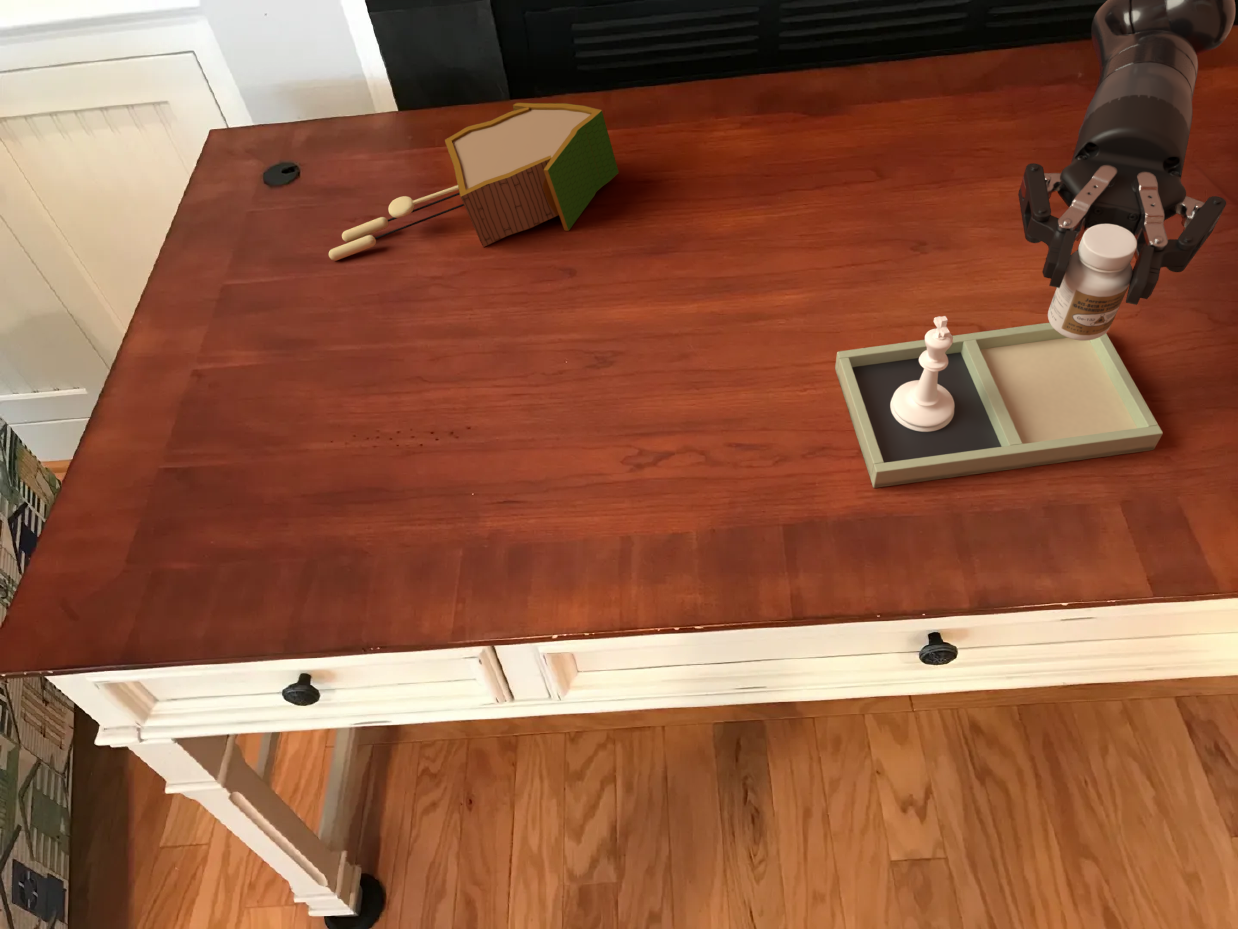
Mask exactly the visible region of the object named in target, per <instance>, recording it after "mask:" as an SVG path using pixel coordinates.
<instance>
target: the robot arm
mask: <svg viewBox="0 0 1238 929" xmlns="http://www.w3.org/2000/svg"><path fill="white" fill-rule="evenodd" d="M1235 19H1236V2H1235V0H1106V1H1105V2H1104V3H1103V4H1102V5H1101V6H1100V7H1099V8H1098V9H1097V11H1096V13H1095V14H1094V17H1093V18H1092V22H1091V29H1090V30H1091V31H1090V32H1091V40H1092V45H1093V50H1094V52H1095V56H1096V59H1097V61H1098V66H1099V77H1098V81H1097V84H1096V87H1095V90H1094V94H1093V97H1092V98H1091V100H1090V102H1089V104H1088V106H1087V108H1086V111H1085V114H1084V117H1083V119H1082V120H1083V121H1082V124H1081V125H1080V126H1079V127H1080V128H1079V130H1078V135H1077V141H1076V145H1075V148H1074V150H1073V155H1072V158H1071V162H1070V164H1068V165H1067V166H1065V167H1064V168H1063V169H1062V171H1061V172H1045V171H1044V170H1045V169H1044V166H1042V165H1041V164H1039V163H1035V162H1034V163H1029V164H1027V165H1026V166H1025V170H1024V173H1023V176H1022V179H1021V184H1020V186H1019V191H1018V194H1017V195H1018V201H1019V208H1020V214H1021V220H1022V227H1023V233H1024V238H1025V240H1026V241H1027V242H1029V243H1031V244H1038V243H1041V242H1042V243H1044V244H1045V245H1046V246H1047V247H1048V250H1047V254H1046V257H1045V260H1044V265H1043V267H1042V271H1041V272H1042V275H1043V278H1046V279H1050V281H1049V287H1053V288H1060V286H1061V283H1062V281H1063V278H1064V275H1065V272H1066V270H1067V266H1068V263H1069V259H1070V256H1071V254H1072V253H1073V252H1072V251H1073V248H1074V244H1075V242H1079V241H1080V239H1082V237H1083V234H1084V233H1085V231H1086V230H1087V229H1089V228H1090V227H1092V226H1095V225H1099V224H1113V225H1118V226H1121V227H1123V228H1125V229H1127V230H1128V231H1130V232H1131V233H1132V234H1133V235H1134V236H1135V238H1136V241H1137V247H1136V250H1135V253H1134V255H1133V257H1134V259H1135V264H1134V266H1133V267H1132V270H1133V274H1132V278H1131V281H1130V284H1129V287H1128V289H1127V294H1126V297H1125V298H1126V299H1125V303H1126V304H1131V305H1134V306H1137V305H1138V303H1139V302H1140V301H1141V300H1140V299H1143V300H1148V299H1149V298H1150V297H1151V296H1152V294H1153V292H1154V290H1155V288H1156V286H1157V283H1158V282H1159V278H1160V273H1161V268H1166V269H1167V270H1168V271H1170V272H1173V273H1181V272H1183V271H1184V270H1185V269H1186V268H1187V267H1188V265H1189V264H1190V262H1191V261H1192V260H1193V258H1195V256H1196V254H1197V253H1198V252H1199V250H1200V249H1201V247H1202V246H1203V245H1204V244H1205V242H1207V240H1208V238H1209V237H1210V235H1211V234H1212V233H1213V231H1214V229H1215V227H1216V225H1217V223H1218V221H1219V220H1220V218H1221V216H1222V214H1223V212H1224V209H1225V208H1226V206H1227V200H1226V199H1225V198H1223V197H1221V196H1218V195H1213V196H1209V197H1208V198H1206V200H1205V202H1204V201H1202V200H1198V199H1196V198H1193V197H1190V196H1187V190H1186V187H1185V186H1184V184H1183V183H1182V176H1183V171H1184V165H1185V159H1186V154H1187V149H1188V144H1189V139H1190V134H1191V130H1192V129H1191V128H1192V123H1193V112H1194V111H1193V99H1194V95H1195V94H1194V93H1195V88H1196V82H1197V78H1198V71H1199V61H1198V56H1199V55H1202V54H1205V53H1208V52H1210V51H1213V50H1215V49H1217V48H1218V47H1219V46H1220V45H1222V44H1223V43H1224V41H1225V40H1227V37H1228V36H1229V34H1230V32H1231V30H1232V28H1233V25H1234V22H1235ZM1055 192H1057V194H1058V195H1059V197H1060V198H1061V200H1062V201H1063V202H1064V203H1065V205H1066V206H1067V209H1066V211H1065V212H1064V213H1063V214H1062V215H1061V216H1060V217H1057V216H1054V215H1052V208H1051V203H1050V199H1051V197H1052V194H1053V193H1055ZM1177 214H1178V215H1179V216H1180V217H1181V221H1180V224H1181V226H1182V227H1183V229H1182V232H1181V233H1180V234H1179V236H1178V237H1177V238H1173V239H1172V238H1170V239H1168V235H1167V231H1166V229H1165V224H1164V222H1165V221H1167V220H1169V219H1170V218H1172V217H1174V216H1176V215H1177Z"/></svg>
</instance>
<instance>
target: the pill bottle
mask: <svg viewBox="0 0 1238 929" xmlns="http://www.w3.org/2000/svg"><path fill="white" fill-rule="evenodd" d="M1080 239H1081V240H1080V242H1079V244H1078V246H1077V250H1075V251H1073V252H1071V256H1070V259H1069V263H1068V266H1067V270H1066V272H1065V275H1064V278H1063V281H1062V283H1061V286H1060V288H1057V287H1055V291H1054V294H1053V296H1052V300H1051V301H1050V305H1049V308H1048V311H1047V319H1048V323H1049V322H1050V324H1051V326H1052V327H1053V328H1054V329H1055V330H1056V331H1057V332H1059V333H1060V334H1062V335H1063V336H1065V337H1068V338H1071V339H1075V340H1081V341H1084V340H1093V339H1096V338H1099V337H1101V336H1103V335H1104V334H1105V333H1106V334H1107V333H1108V331H1109V330H1110V328H1111V326H1112V324H1113V321H1115V318H1116V315H1117V313H1118V311H1119V308H1120V306H1121V305H1122V302H1123V300H1124V297H1125V295H1126V293H1127V292H1128V289H1129V284H1130V281H1131V278H1132V274H1133V267H1132V265H1131V263H1132V260H1133V258H1134V253H1135V250H1136V247H1137V241H1136V238H1135V236H1134V235H1133V234H1132V233H1131V232H1130V231H1128V230H1127V229H1125V228H1123V227H1121V226H1118V225H1113V224H1099V225H1095V226H1092V227H1090V228H1089V229H1087V230H1086V231H1085V233H1084V234H1083V236H1082V237H1081V238H1080Z"/></svg>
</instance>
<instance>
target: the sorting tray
mask: <svg viewBox="0 0 1238 929" xmlns="http://www.w3.org/2000/svg"><path fill="white" fill-rule="evenodd" d="M952 337H953V343H952V345H951V346H950V348H949V349H948V350H947V351H946V352H945V354H946V355H947V357H948V365H947V367H946V368H945V369H943V370H941V371H938V380H937V384H939V385H941V386H942V387H944V388H945V389H946V390H947V391H948V392H949V393H950V394H951V396H952V398H953V400H954V415H953V418H952V420H951V421H950V422H949V424H947V425H946V426H945V427H943V428H941V429H939V430H936V431H931V432H920V431H915V430H912V429H909V428H907V427H905V426H903V425H902V424H900V423H899V422H898V421H897V420H896V419H895V418H894V416H893V414H892V412H891V408H890V403H891V399H892V397H893V395H894V393H895V391H896V390H897V389H898V388H899V387H900V386H901V385H903V384H905V383H907V382H910V381H915V380H920V378H921V375H922V373H923V371H924V368H923V367H922V366H921V365H920V363H919V357H920V355H921V354H922V353H923V352H924V351H926V350H927V347H926V344H925V339H919V340H911V341H906V342H905V341H904V342H898V343H890V344H883V345H875V346H869V347H861V348H854V349H847V350H840V351H837V352H836V358H835V365H834V370H835V373H836V376H837V380H838V382H839V385H840V389H841V391H842V395H843V397H844V401H845V404H846V407H847V410H848V414H849V417H850V421H851V423H852V427H853V429H854V433H855V435H856V438H857V442H858V444H859V447H860V448H859V449H860V450H861V454H862V457H863V460H864V463H865V466H866V470H867V472H868V475H869V479H870V481H871V485H872V488H874V489H876V488H883V487H890V486H891V487H892V486H898V485H906V484H913V483H914V484H915V483H921V482H928V481H935V480H943V479H951V478H958V477H965V476H973V475H980V474H987V473H994V472H1001V471H1008V470H1009V471H1010V470H1017V469H1022V468H1023V469H1025V468H1031V467H1038V466H1039V467H1040V466H1044V465H1045V466H1046V465H1053V464H1060V463H1068V462H1074V461H1076V462H1077V461H1082V460H1090V459H1097V458H1104V457H1105V458H1106V457H1111V456H1112V457H1113V456H1120V455H1127V454H1134V453H1141V452H1142V453H1143V452H1148V451H1154V450H1155V449H1156V446H1157V445H1158V443H1159V441H1160V439H1161V438H1162V436H1163V435H1164V434H1163V430H1162V428H1161V427H1160V425H1159V424H1158V422H1157V420H1156V418H1155V416H1154V414H1153V413H1152V411H1151V409H1150V408H1149V405H1148V404H1147V401H1145V399H1144V397H1143V395H1142V394H1141V392H1140V390H1139V388H1138V386H1137V385H1136V383H1135V381H1134V379H1133V377H1132V376H1131V374H1130V372H1129V370H1128V369H1127V367H1126V365H1125V364H1124V362H1123V360H1122V358H1121V356H1120V355H1119V353H1118V351H1117V349H1116V347H1115V346H1114V344H1113V342H1112V341H1111V339H1110V338H1109V337H1110V336H1108V333H1107V332H1106V333H1105V334H1104V335H1103V336H1101V337H1099V338H1096V339H1093V340H1084V341H1081V340H1075V339H1071V338H1068V337H1065V336H1063V335H1062V334H1060V333H1059V332H1057V331H1056V330H1055V329H1054V328H1053V327H1052V326H1051V324H1050V322H1049V321H1048V322H1042V323H1035V324H1028V325H1022V326H1021V325H1020V326H1014V327H1007V328H1000V329H999V328H998V329H992V330H984V331H977V332H972V333H970V332H969V333H963V334H956V335H955V334H954V335H952Z"/></svg>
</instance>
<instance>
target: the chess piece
mask: <svg viewBox="0 0 1238 929" xmlns="http://www.w3.org/2000/svg"><path fill="white" fill-rule="evenodd" d="M948 321H949V320H948V318H947V316H946V315H943V316H940V315H938V316H936V317H934V318H933V323H934V325H935V328H932V329H930V330H928V331H927V332H926V333H925V335H924V340H925V344H926V347H927V350H926V351H924V352H923V353H922V354H921V355H920V357H919V363H920V365H921V366H922V367H923V368H924V371H923V373H922V375H921V378H920V380H915V381H910V382H907V383H905V384H903V385H901V386H900V387H899V388H898V389H897V390H896V391H895V393H894V395H893V397H892V399H891V403H890V408H891V412H892V414H893V416H894V418H895V419H896V420H897V421H898V422H899V423H900V424H902V425H903V426H905V427H907V428H909V429H912V430H915V431H920V432H931V431H936V430H939V429H941V428H943V427H945V426H946V425H947V424H949V422H950V421H951V420H952V418H953V415H954V400H953V398H952V396H951V394H950V393H949V392H948V391H947V390H946V389H945V388H944V387H942V386H941V385H939V384H937V380H938V371H941V370H943V369H945V368H946V367H947V365H948V357H947V355H946V354H945V352H946V351H947V350H948V349H949V348H950V346H951V345H952V343H953V337H952V336H953V335H952V333H951V331H950V330H949V328H948Z"/></svg>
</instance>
